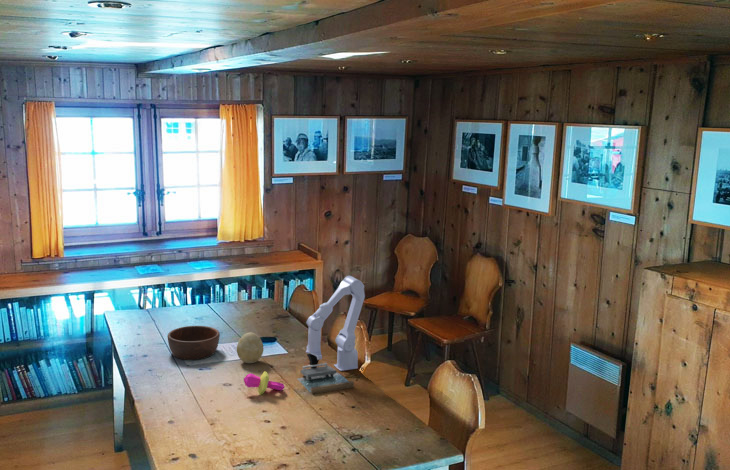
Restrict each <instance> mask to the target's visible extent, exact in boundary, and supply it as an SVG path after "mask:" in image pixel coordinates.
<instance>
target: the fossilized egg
mask: <svg viewBox="0 0 730 470" xmlns="http://www.w3.org/2000/svg"><path fill="white" fill-rule="evenodd" d="M236 344H237V345H236V354H237V356H238V358H239V359H240V360H241V361H242V362H244V363H245V364H254V363H257V362H258V361H259V360H260V359H261V357H262V356H263V354H264V344H263V341H262V339H261V337H260V336H258V334H256V333H254V332H252V331H251V332H246V333H244V334H243V335H242V336H241V337H240V338H239V340H238V342H237V343H236Z"/></svg>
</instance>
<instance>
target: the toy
mask: <svg viewBox="0 0 730 470" xmlns="http://www.w3.org/2000/svg"><path fill="white" fill-rule="evenodd" d="M269 379H270V377H269V374H268V372H267V371H265V370H264V371H263V373H262V374H261V375H260V376H258V375H255V374H254V373H248V374H247V375H246V376H244V378H243V382H244V385H245V386H246V387H247V388H257V392H258V395H259V396H261V395H262V396H263V394H264V393H265V392H266V391H267V389H270V390H275V391H283V390H284V389H285V385H284V383H282V382H278V381H272V380H269Z"/></svg>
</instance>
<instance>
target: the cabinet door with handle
mask: <svg viewBox="0 0 730 470" xmlns="http://www.w3.org/2000/svg"><path fill="white" fill-rule="evenodd" d="M316 366H317V368H311V367H316ZM336 373H337V370H336V369H335V368H333V367H331V366H330V365H328V363H327V362H324V363H318V364H316V365H310V364H309V365H304V366H302V369H300V374H301V375H303V377H307V378H308V379H309V380H310V379H311V377H316V376H323V375H329V374H330V375H331V376H333V375H334V374H336Z"/></svg>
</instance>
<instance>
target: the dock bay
mask: <svg viewBox="0 0 730 470" xmlns="http://www.w3.org/2000/svg"><path fill="white" fill-rule="evenodd" d="M296 379H297V380H298V382H300V383H301V385H302V386H303V387H304V388H305V389H306V390H307V391H308V392H309V394H311V395H315V394H322V393H326V392H334V391H340V390H347V389H352V388H354V387H355V385H354V384H355V383H354V382H355V381H353V380H350V381H349V380H348V379H347V378H346V377H345V376H343V375H342V374H341V373H339V372H336V374H334V375H333V376H331V375H330V374H329V375H323V376H316V377H311V379H310V380H309V379H308V378H307V377H306V376H303V377H298V378H296Z"/></svg>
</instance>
